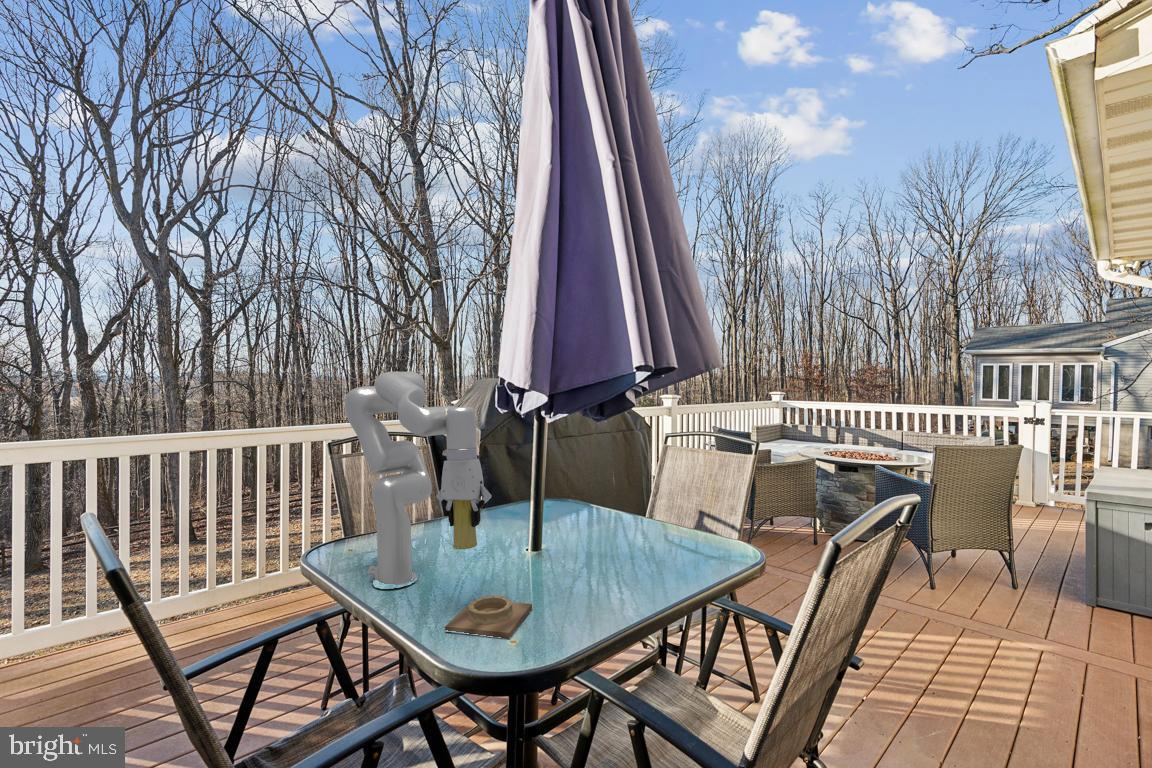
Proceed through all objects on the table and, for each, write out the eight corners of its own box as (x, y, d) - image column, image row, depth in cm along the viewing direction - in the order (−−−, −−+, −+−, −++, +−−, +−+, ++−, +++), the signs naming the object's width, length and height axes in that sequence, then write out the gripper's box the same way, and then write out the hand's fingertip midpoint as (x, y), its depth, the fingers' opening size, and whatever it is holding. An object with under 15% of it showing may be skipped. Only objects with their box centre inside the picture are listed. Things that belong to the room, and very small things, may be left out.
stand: (445, 632, 125) (444, 615, 125) (474, 604, 141) (474, 589, 141) (509, 639, 121) (508, 621, 121) (532, 609, 137) (531, 594, 137)
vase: (448, 547, 137) (445, 491, 137) (465, 541, 142) (463, 487, 142) (465, 550, 133) (463, 493, 133) (482, 544, 138) (480, 489, 138)
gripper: (424, 457, 136) (427, 528, 136) (487, 456, 132) (489, 530, 132) (439, 453, 143) (441, 520, 143) (498, 452, 139) (501, 522, 139)
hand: (464, 524), depth 137 cm, fingers closed on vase, 5 cm apart
